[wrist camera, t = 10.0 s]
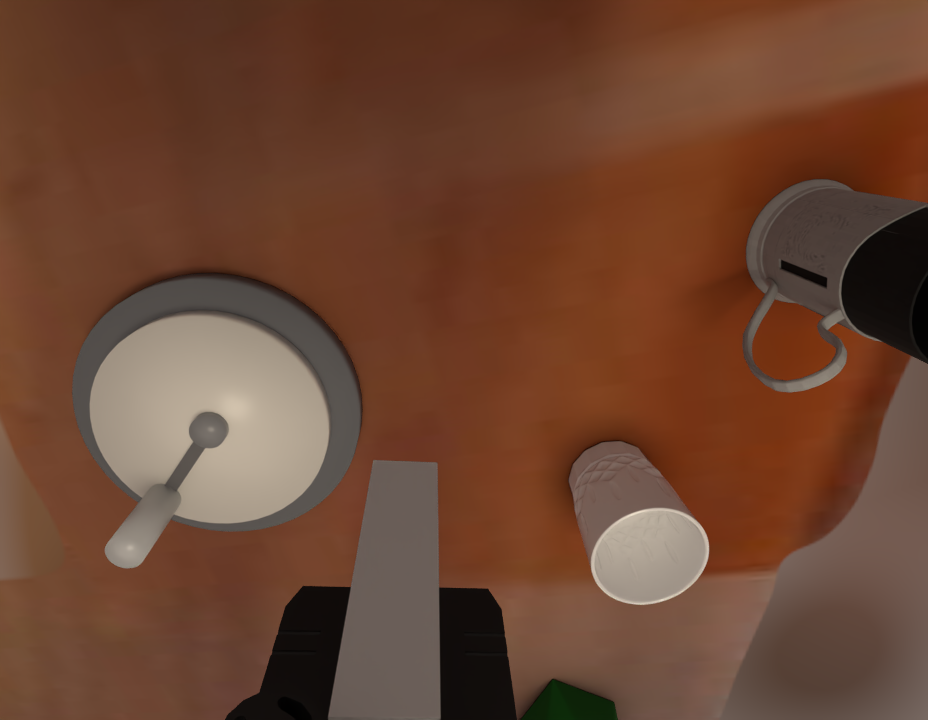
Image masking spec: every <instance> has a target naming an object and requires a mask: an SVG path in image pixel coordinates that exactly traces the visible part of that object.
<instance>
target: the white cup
mask: <svg viewBox="0 0 928 720" xmlns="http://www.w3.org/2000/svg"><path fill="white" fill-rule="evenodd" d="M569 485H570V489H571V493H572V497H573V500H574V510H575V513H576V517H577V522H578V525H579V529H580V532H581V536H582V539H583V543H584V546H585V550H586V553H587V557H588V560H589V564H590V567H591V571H592V574H593V577H594V579H595V581H596V583H597V585H598V586H599V587H600V588H601V589H602V591H604V592H605V593H606V594H607V595H609V596H610V597H612V598H614V599H616V600H618V601H621V602H624V603H629V604H637V605H645V604H654V603H659V602H662V601H665V600H668V599H671V598H673V597H675V596H677V595H679V594H680V593H682V592H683V591H685V590H686V589H688V588H689V587H690V586H691V585H692V584H693V583H694V582H695V581H696V580H697V579H698V578H699V576H700V575H701V573H702V572H703V570H704V568H705V566H706V563H707V560H708V556H709V542H708V538H707V535H706V533H705V531H704V529H703V528H702V526H701V525H700V524H699V522H698V521H697V520H696V518H695V517H694V516H693V515H692V513H691V512H690V511H689V509H688V508H687V507H686V505H685V504H684V503H683V501H682V500H681V499H680V497H679V496H678V495H677V493H676V492H675V491H674V489H673V488H672V487H671V485H670V484H669V483H668V482H667V480H666V479H665V478H664V477H663V476H662V474H661V473H660V472H659V471H658V469H657V468H655V467H654V466H653V465H652V464H651V462H650V461H649V460H648V458H647V457H646V456H645V455H644V454H643V453H642V452H641V451H640V449H639V448H638V447H636V446H633V445H630V444H627V443H625V442H622V441H614V442H602V443H599V444H597V445H595V446H593V447H591V448H589V449H587V450H585V451H584V452H583V453H582V454H581V456H580V457H579V458H578V459H577V460H576V461H575V462H574V463H573V466H572V469H571V473H570V477H569Z"/></svg>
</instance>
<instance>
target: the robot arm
mask: <svg viewBox="0 0 928 720" xmlns="http://www.w3.org/2000/svg"><path fill="white" fill-rule="evenodd" d="M225 720H517V717H516V710H515V702H514V695H513V688H512V681H511V674H510V667H509V660H508V657H507V645H506V638H505V631H504V624H503V617H502V610H501V608H500V606H499V605H498V603H497V602H496V600H495V599H494V597H493V596H492V594H491V593H490V591H489V590H488V589H477V588H439V553H438V473H437V463H434V462H408V461H382V460H373V466H372V471H371V477H370V483H369V488H368V494H367V500H366V505H365V511H364V516H363V522H362V528H361V533H360V539H359V545H358V550H357V556H356V562H355V567H354V573H353V579H352V584H351V587H321V586H303V587H302V588H301V589H300V590H299V591H298V593H297V594H296V595H295V596H294V597H293V598H292V600H291V601H290V602H289V603H288V604H287V605H286V607H285V610H284V613H283V617H282V620H281V623H280V627H279V630H278V635H277V636H276V640H275V643H274V646H273V650H272V655H271V656H270V659H269V663H268V666H267V669H266V673H265V676H264V679H263V682H262V686H261V689H260V692H259V693H258V694H256V695H254V696H252V697H250V698H248V699H245V700H243V701H242V702H241V703H240V704H239V705H238V706H237V707H236V708H235V709H234V710H232V711H231V712H230V713H229V714H228V715H227V717H226V719H225Z"/></svg>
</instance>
